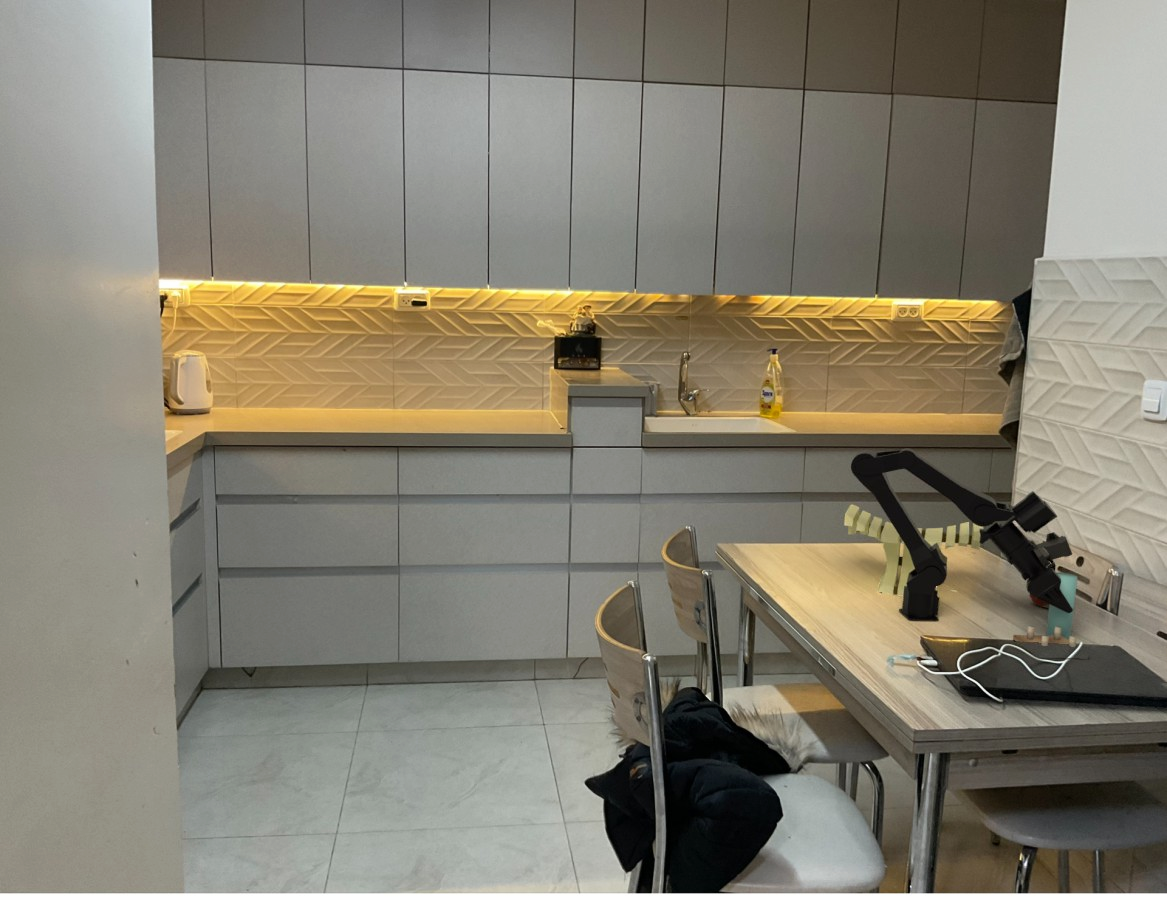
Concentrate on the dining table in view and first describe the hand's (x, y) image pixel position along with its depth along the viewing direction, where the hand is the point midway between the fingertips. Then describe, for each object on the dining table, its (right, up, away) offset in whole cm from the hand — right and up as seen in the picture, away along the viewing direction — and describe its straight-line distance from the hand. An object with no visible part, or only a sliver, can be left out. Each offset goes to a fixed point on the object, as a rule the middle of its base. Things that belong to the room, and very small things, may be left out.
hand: (1068, 605), depth 199 cm
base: (-7, -8, -7) cm, 12 cm away
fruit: (+7, -4, +23) cm, 24 cm away
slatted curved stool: (-22, -1, +33) cm, 40 cm away
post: (-1, -7, +1) cm, 7 cm away
